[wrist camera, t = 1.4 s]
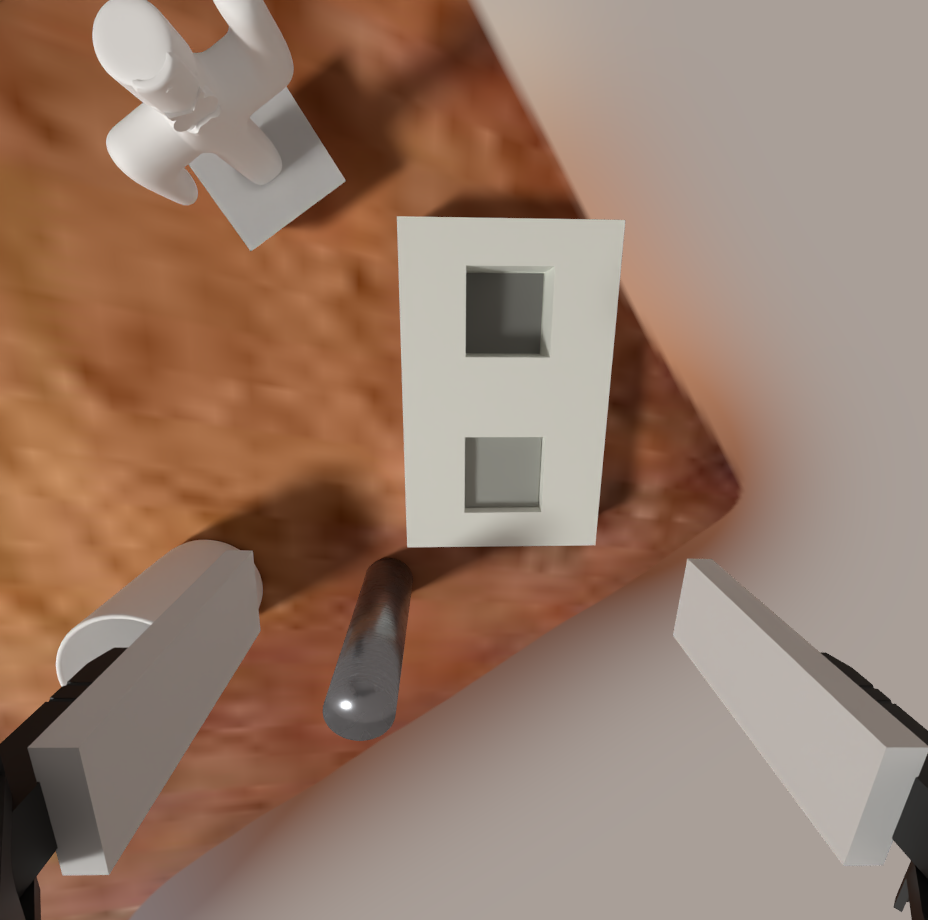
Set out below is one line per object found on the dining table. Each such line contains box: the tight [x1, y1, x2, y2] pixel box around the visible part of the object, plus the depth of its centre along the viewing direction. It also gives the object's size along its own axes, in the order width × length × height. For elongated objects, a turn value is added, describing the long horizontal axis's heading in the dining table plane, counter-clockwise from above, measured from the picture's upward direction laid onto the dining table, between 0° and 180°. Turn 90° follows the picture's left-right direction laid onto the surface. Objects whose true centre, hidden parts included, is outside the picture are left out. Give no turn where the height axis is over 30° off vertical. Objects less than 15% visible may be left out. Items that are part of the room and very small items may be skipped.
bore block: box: [397, 216, 625, 547], centre depth 33 cm, size 22×14×4 cm, turn 0°
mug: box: [56, 540, 263, 686], centre depth 33 cm, size 9×12×11 cm
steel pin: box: [323, 558, 413, 741], centre depth 32 cm, size 4×4×14 cm
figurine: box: [92, 0, 346, 251], centre depth 23 cm, size 7×9×15 cm
